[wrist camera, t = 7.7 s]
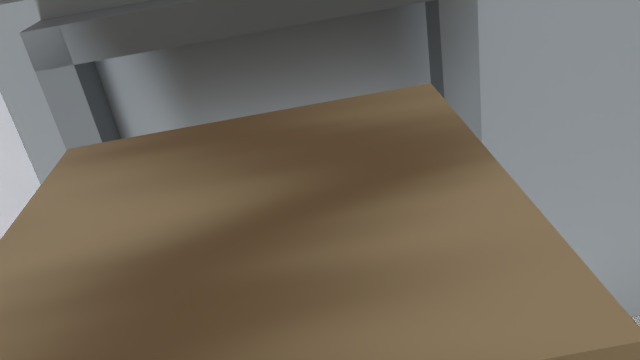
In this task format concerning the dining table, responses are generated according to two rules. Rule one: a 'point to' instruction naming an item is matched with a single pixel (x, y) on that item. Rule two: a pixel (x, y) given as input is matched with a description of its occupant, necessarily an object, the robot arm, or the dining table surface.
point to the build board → (357, 86)
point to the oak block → (300, 247)
